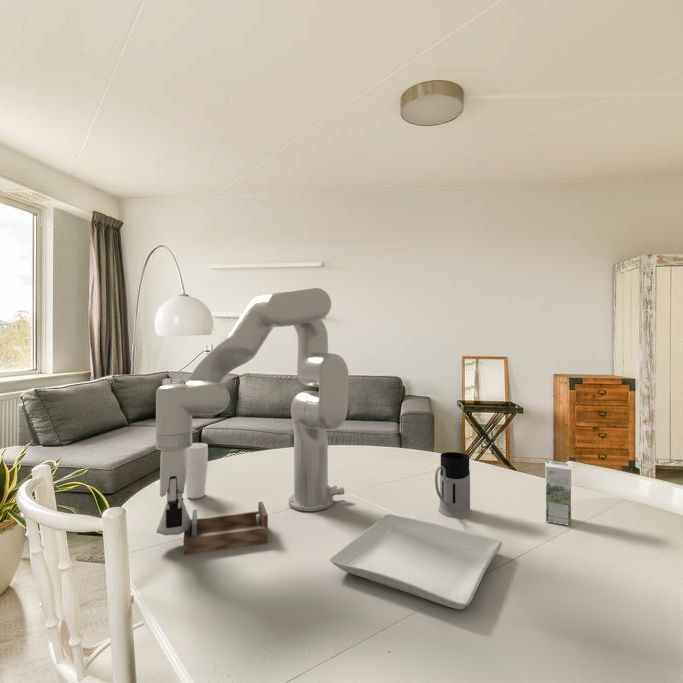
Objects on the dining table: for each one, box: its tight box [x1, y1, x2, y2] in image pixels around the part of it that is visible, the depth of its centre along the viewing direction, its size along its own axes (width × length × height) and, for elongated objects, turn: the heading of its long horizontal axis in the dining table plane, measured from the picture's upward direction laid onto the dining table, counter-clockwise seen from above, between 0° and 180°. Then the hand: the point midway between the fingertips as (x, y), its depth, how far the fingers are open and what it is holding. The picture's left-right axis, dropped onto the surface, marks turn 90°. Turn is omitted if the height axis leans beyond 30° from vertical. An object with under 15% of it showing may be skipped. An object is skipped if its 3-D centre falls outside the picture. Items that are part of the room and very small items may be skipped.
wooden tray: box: [182, 501, 269, 556], centre depth 98 cm, size 18×10×6 cm, turn 108°
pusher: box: [191, 509, 198, 537], centre depth 96 cm, size 1×8×5 cm, turn 18°
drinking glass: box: [185, 442, 209, 500], centre depth 125 cm, size 7×7×15 cm
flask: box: [156, 491, 192, 536], centre depth 95 cm, size 7×7×10 cm
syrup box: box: [544, 460, 572, 525], centre depth 108 cm, size 6×6×14 cm
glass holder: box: [434, 451, 473, 519], centre depth 112 cm, size 9×14×15 cm, turn 137°
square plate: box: [329, 513, 503, 610], centre depth 87 cm, size 27×27×4 cm
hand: (175, 520), depth 95 cm, fingers closed on flask, 5 cm apart
